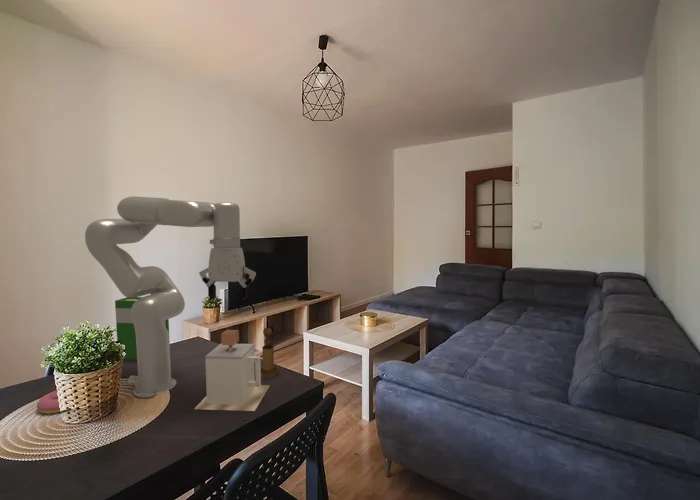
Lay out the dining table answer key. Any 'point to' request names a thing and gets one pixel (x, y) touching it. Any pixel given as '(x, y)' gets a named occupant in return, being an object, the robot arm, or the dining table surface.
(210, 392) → the press pot
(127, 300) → the hardback book
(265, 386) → the birch board
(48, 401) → the doughnut
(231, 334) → the brown square-faced block
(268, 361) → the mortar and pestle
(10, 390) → the dining table surface
